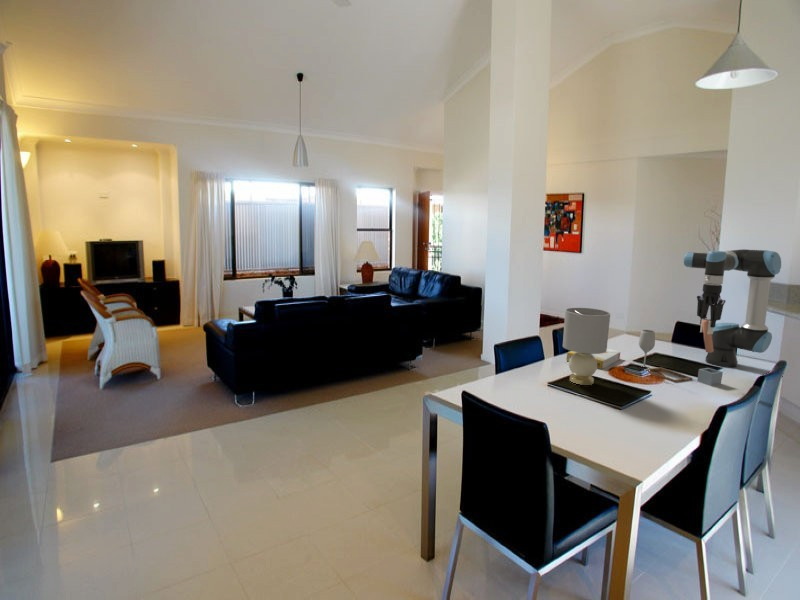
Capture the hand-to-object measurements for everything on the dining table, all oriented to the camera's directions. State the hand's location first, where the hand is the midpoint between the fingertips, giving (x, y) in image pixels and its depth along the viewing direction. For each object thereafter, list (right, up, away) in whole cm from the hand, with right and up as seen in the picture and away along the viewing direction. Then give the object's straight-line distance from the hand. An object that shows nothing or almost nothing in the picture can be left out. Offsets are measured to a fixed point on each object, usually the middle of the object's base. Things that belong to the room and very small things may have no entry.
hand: (706, 332), depth 232 cm
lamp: (-57, -25, +7) cm, 63 cm away
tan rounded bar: (+1, -10, +2) cm, 10 cm away
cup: (+5, -26, +6) cm, 27 cm away
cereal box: (-36, -19, +45) cm, 61 cm away
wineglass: (-15, -22, +30) cm, 40 cm away
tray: (-10, -24, +16) cm, 30 cm away
